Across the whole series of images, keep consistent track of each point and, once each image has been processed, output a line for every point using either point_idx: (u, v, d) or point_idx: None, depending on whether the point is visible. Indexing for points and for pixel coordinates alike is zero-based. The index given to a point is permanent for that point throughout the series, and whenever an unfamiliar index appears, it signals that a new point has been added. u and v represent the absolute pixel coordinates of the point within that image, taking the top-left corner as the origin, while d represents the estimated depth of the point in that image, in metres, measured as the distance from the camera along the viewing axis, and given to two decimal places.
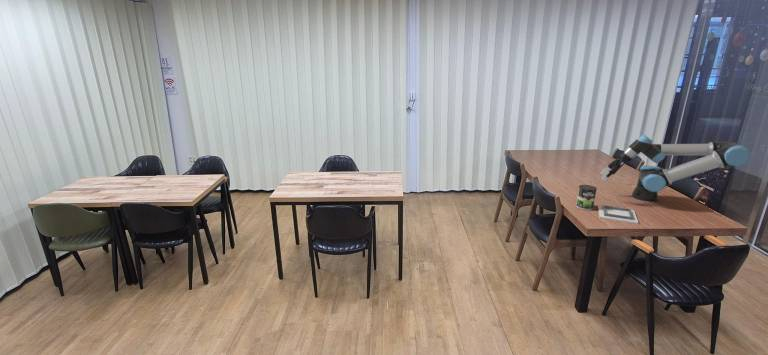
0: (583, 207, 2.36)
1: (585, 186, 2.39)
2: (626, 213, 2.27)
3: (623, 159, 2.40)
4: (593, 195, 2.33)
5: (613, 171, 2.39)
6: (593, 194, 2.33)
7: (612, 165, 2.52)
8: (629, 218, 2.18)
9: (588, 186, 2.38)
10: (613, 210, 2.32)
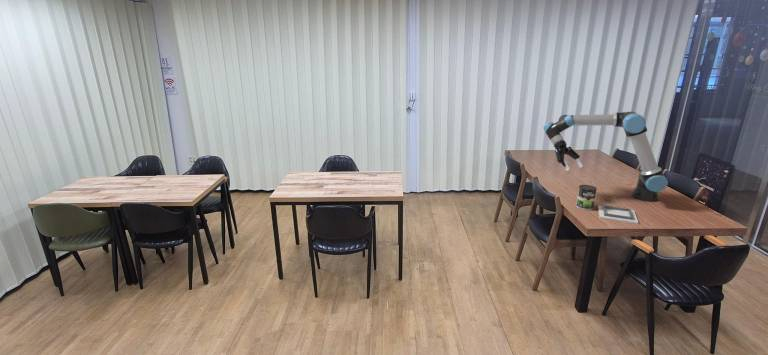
0: (583, 207, 2.36)
1: (585, 186, 2.39)
2: (626, 213, 2.27)
3: (557, 147, 2.48)
4: (593, 195, 2.33)
5: (558, 159, 2.42)
6: (593, 194, 2.33)
7: (572, 156, 2.48)
8: (629, 218, 2.18)
9: (588, 186, 2.38)
10: (613, 210, 2.32)
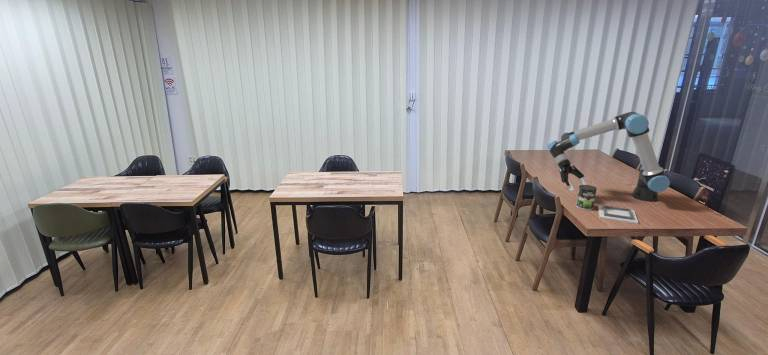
0: (583, 207, 2.36)
1: (585, 186, 2.39)
2: (626, 213, 2.27)
3: (561, 167, 2.47)
4: (593, 195, 2.33)
5: (562, 179, 2.41)
6: (593, 194, 2.33)
7: (576, 175, 2.47)
8: (629, 218, 2.18)
9: (588, 186, 2.38)
10: (613, 210, 2.32)
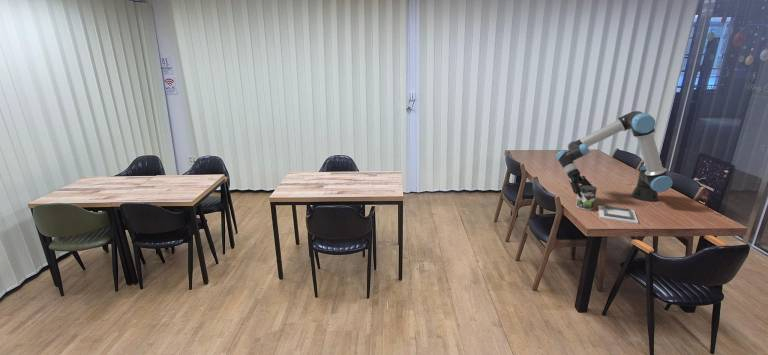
0: (583, 207, 2.36)
1: (585, 186, 2.39)
2: (626, 213, 2.27)
3: (570, 176, 2.42)
4: (593, 195, 2.33)
5: (574, 190, 2.36)
6: (593, 194, 2.33)
7: None
8: (629, 218, 2.18)
9: (588, 186, 2.38)
10: (613, 210, 2.32)
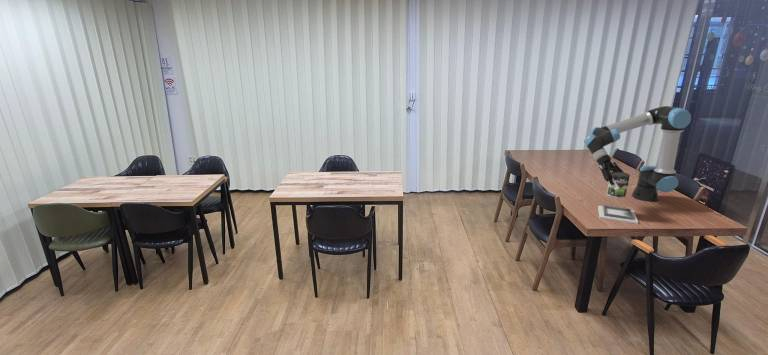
0: (615, 195, 2.21)
1: (617, 172, 2.24)
2: (626, 213, 2.27)
3: (600, 163, 2.27)
4: (626, 182, 2.18)
5: (605, 177, 2.21)
6: (626, 181, 2.18)
7: None
8: (629, 218, 2.18)
9: (620, 173, 2.23)
10: (613, 210, 2.32)
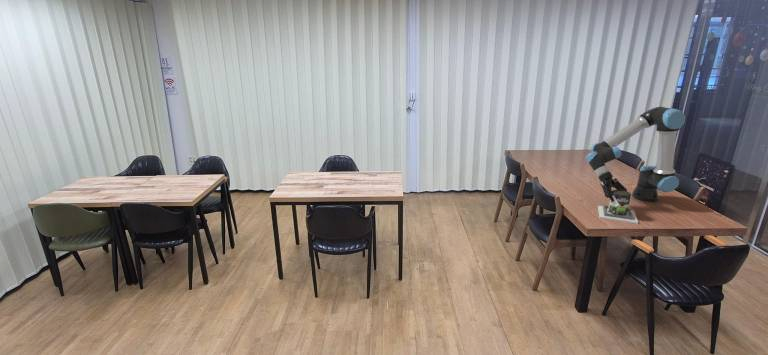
0: (616, 214, 2.23)
1: (618, 191, 2.26)
2: None
3: (602, 180, 2.29)
4: (627, 201, 2.20)
5: (605, 194, 2.23)
6: (627, 200, 2.20)
7: (618, 189, 2.29)
8: (629, 218, 2.18)
9: (621, 191, 2.25)
10: None
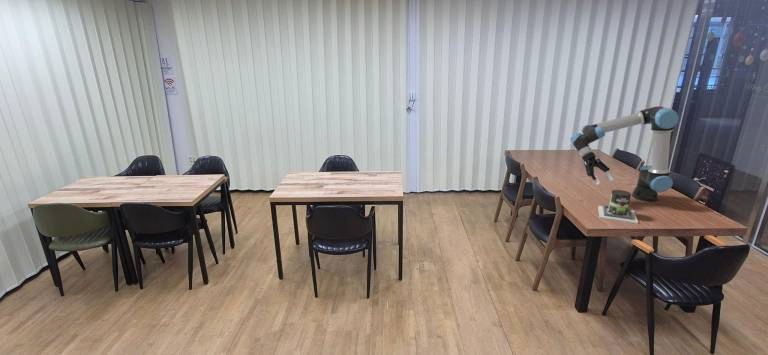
0: (616, 214, 2.23)
1: (618, 191, 2.26)
2: None
3: (586, 160, 2.37)
4: (627, 201, 2.20)
5: (588, 172, 2.30)
6: (627, 200, 2.20)
7: (601, 168, 2.37)
8: (629, 218, 2.18)
9: (621, 191, 2.25)
10: None
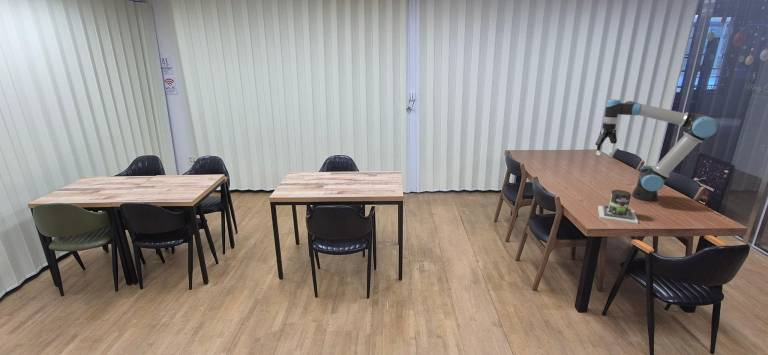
0: (616, 214, 2.23)
1: (618, 191, 2.26)
2: None
3: (604, 128, 2.42)
4: (627, 201, 2.20)
5: (597, 142, 2.42)
6: (627, 200, 2.20)
7: (610, 139, 2.48)
8: (629, 218, 2.18)
9: (621, 191, 2.25)
10: None
